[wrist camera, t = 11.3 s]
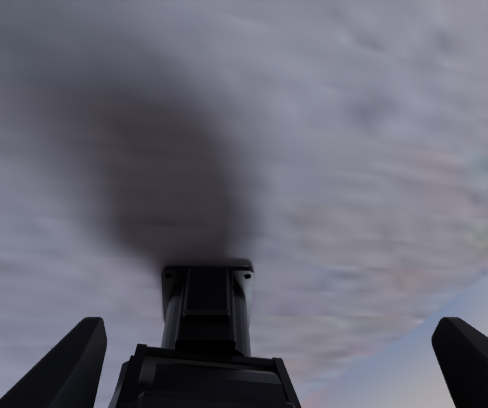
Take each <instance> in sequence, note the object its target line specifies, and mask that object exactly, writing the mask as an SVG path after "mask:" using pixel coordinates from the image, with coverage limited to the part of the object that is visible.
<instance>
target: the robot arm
mask: <svg viewBox="0 0 488 408" xmlns="http://www.w3.org/2000/svg"><path fill="white" fill-rule="evenodd" d="M167 273H171V274H167ZM245 274H249V275H245ZM161 277H162V292H163V306H164V321H165V327H164V332H163V338H162V344H161V348H158V347H148V346H147V345H145V344H137V348H136V351H135V354H134V356H133V355H131V357H130V360H129V361H127V362H125V363H123V364H122V368H121V372H120V375H119V379H118V383H117V386H116V389H115V392H114V395H113V397H112V399H111V402H110V404H109V407H108V408H301V406H300V403H299V400H298V398H297V395H296V393H295V390H294V388H293V385H292V383H291V380H290V378H289V375H288V373H287V370H286V368H285V365H284V363H283V360H282V358H274V357H273V358H272V359H268V358H258V357H251V350H250V338H249V323H250V314H251V305H252V295H253V286H254V270H253V269H252V268H250V267H197V266H167V267H165V268H163V270H162V275H161ZM432 346H433V349H434V352H435V355H436V357H437V360H438V362H439V365H440V368H441V371H442V373H443V376H444V379H445V381H446V384H447V387H448V389H449V392H450V395H451V397H452V399H453V402H454V404H455V407H456V408H488V337H486V336H485V335H484V334H482V333H481V332H479V331H478V330H476V329H475V328H473V327H472V326H471V325H469V324H468V323H466V322H465V321H463V320H462V319H460V318H458V317H443V318H442V319H441V320H440V321H439V323H438V325H437V327H436V329H435V331H434V333H433V335H432ZM106 347H107V337H106V332H105V327H104V321H103V319H102V318H101V317H86V318H84V319H83V320H81V321H80V322H79V323H78V324H77V325H76V326H75V327H74V328H73V329H72V330H71V331H70V332H69V333H68V334H67V335H66V336H65V337H64V338H63V339H62V340H61V341H60V342H59V343H58V344H57V345H56V346H55V347H53V348H52V349H51V350H50V351H49V352H48V353H47V354H46V355H45V356H44V357H43V358H42V359H41V360H40V361H39V362H38V363H37V364H36V365H35V366H34V367H33V368H32V369H31V370H30V371H29V372H28V373H27V374H26V375H25V376H23V377H22V378H21V379H20V380H19V381H18V382H17V383H16V384H15V385H14V386H13V387H12V388H11V389H10V390H9V391H8V392H7V393H6V394H5V395H4V396H3V397H2V398H1V399H0V408H93V407H94V403H95V398H96V394H97V389H98V384H99V380H100V375H101V371H102V366H103V361H104V357H105V352H106Z"/></svg>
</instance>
